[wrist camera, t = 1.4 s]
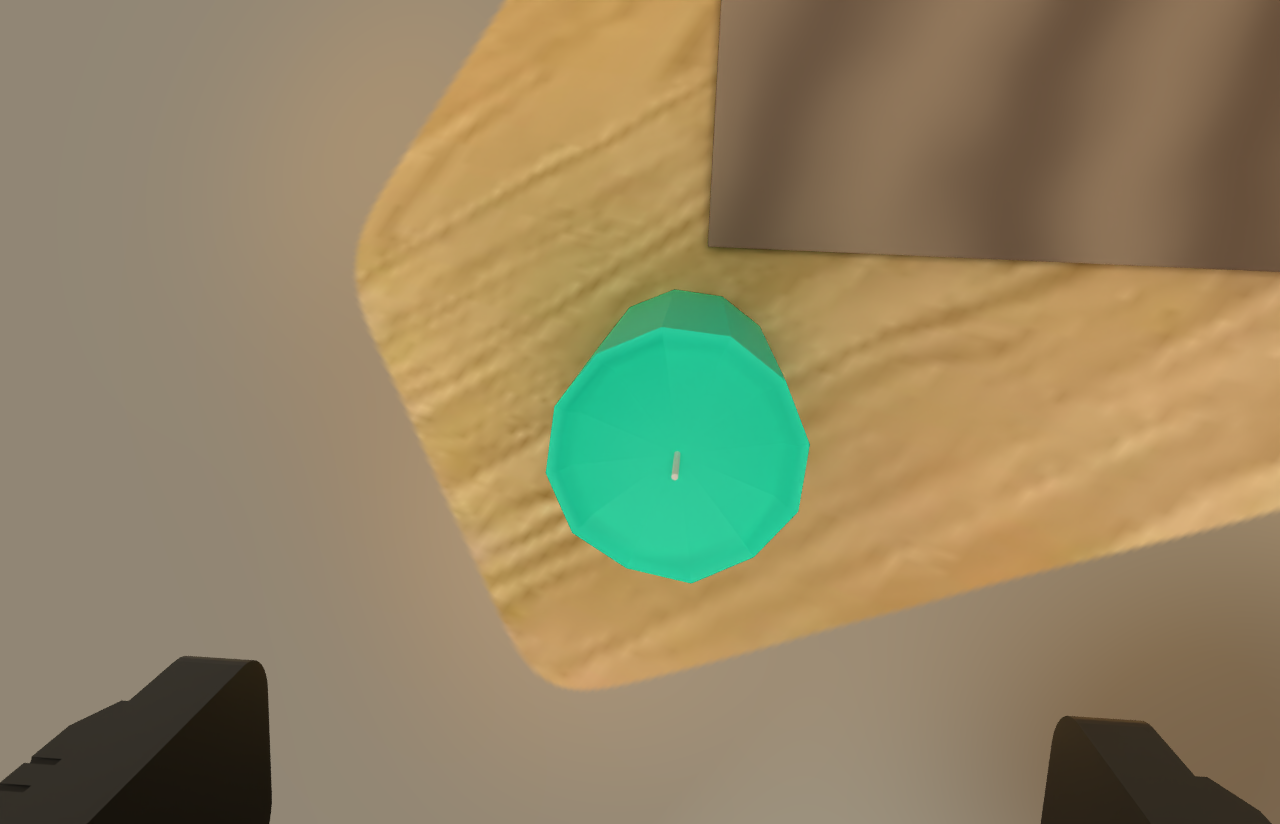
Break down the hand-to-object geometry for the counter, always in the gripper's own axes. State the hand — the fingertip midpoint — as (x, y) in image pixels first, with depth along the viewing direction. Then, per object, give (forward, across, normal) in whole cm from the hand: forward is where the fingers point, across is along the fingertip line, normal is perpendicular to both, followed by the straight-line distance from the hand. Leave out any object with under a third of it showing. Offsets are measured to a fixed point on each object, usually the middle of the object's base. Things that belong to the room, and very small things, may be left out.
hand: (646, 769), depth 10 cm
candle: (+23, 0, 0) cm, 23 cm away
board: (+23, -11, -8) cm, 27 cm away
